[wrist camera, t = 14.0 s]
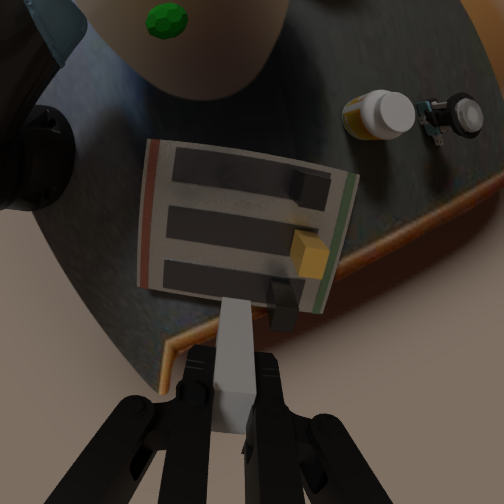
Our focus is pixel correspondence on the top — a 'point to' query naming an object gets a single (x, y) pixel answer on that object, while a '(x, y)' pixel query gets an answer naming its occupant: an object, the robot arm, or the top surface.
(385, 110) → the supplement bottle
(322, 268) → the block
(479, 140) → the top surface
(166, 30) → the polyhedron
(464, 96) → the push button
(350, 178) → the panel
